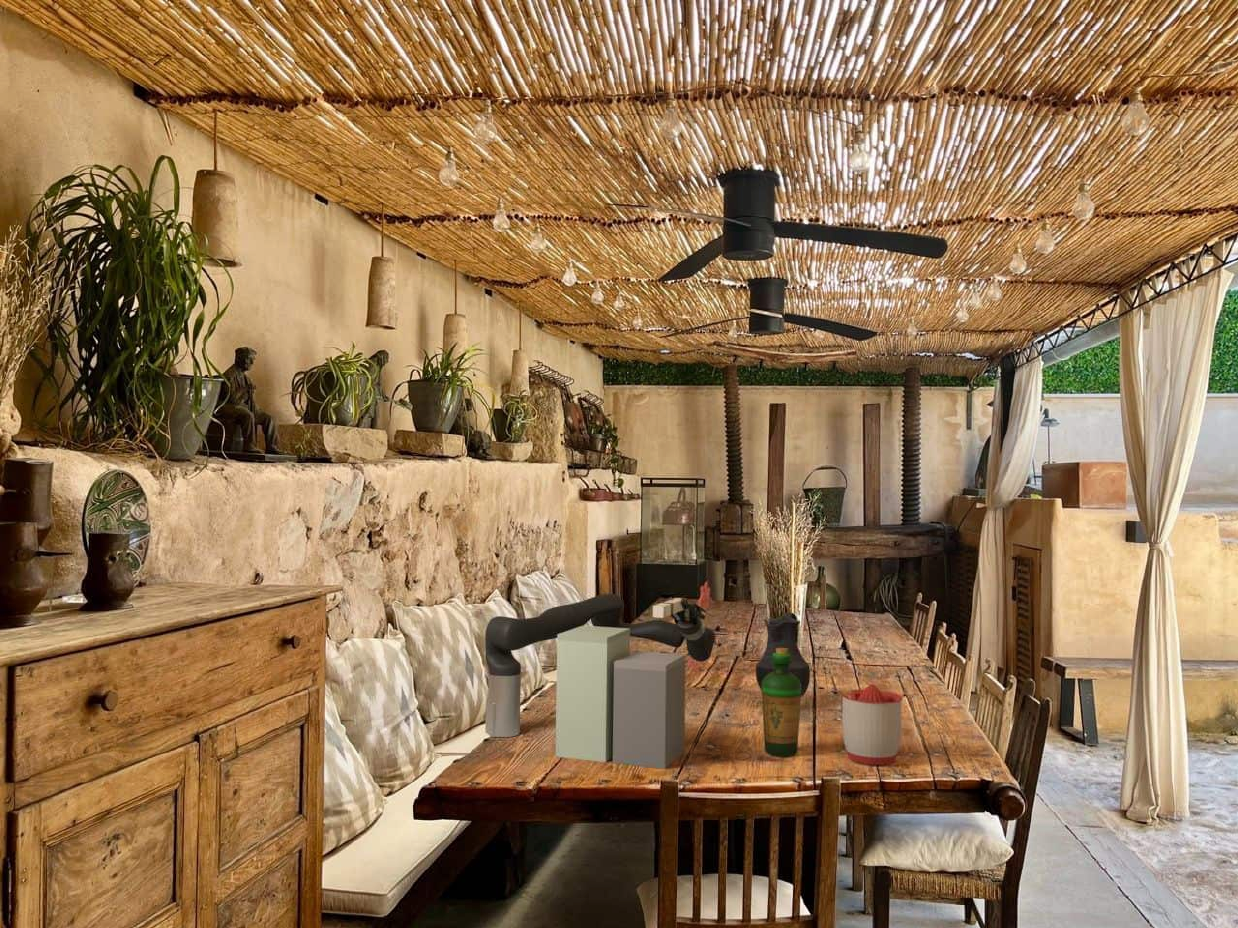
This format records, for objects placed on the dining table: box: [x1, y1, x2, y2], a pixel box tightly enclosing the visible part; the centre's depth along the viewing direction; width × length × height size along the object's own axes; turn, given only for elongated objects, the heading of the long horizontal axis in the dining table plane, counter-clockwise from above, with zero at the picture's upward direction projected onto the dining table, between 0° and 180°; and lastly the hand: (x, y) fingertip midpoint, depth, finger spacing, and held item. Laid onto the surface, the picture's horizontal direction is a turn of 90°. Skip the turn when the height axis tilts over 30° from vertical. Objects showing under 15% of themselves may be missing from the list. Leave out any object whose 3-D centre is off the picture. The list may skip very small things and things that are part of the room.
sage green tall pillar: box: [555, 625, 631, 763], centre depth 262 cm, size 18×14×32 cm
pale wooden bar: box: [652, 597, 687, 619], centre depth 274 cm, size 22×3×3 cm, turn 160°
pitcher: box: [755, 611, 811, 698], centre depth 319 cm, size 17×21×30 cm
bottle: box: [761, 648, 802, 758], centre depth 262 cm, size 11×11×28 cm
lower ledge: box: [612, 650, 686, 770], centre depth 257 cm, size 18×14×26 cm
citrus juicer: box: [836, 683, 903, 766], centre depth 257 cm, size 16×17×20 cm
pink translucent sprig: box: [685, 581, 725, 677], centre depth 375 cm, size 15×26×35 cm, turn 158°
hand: (676, 600), depth 279 cm, fingers closed on pale wooden bar, 3 cm apart
